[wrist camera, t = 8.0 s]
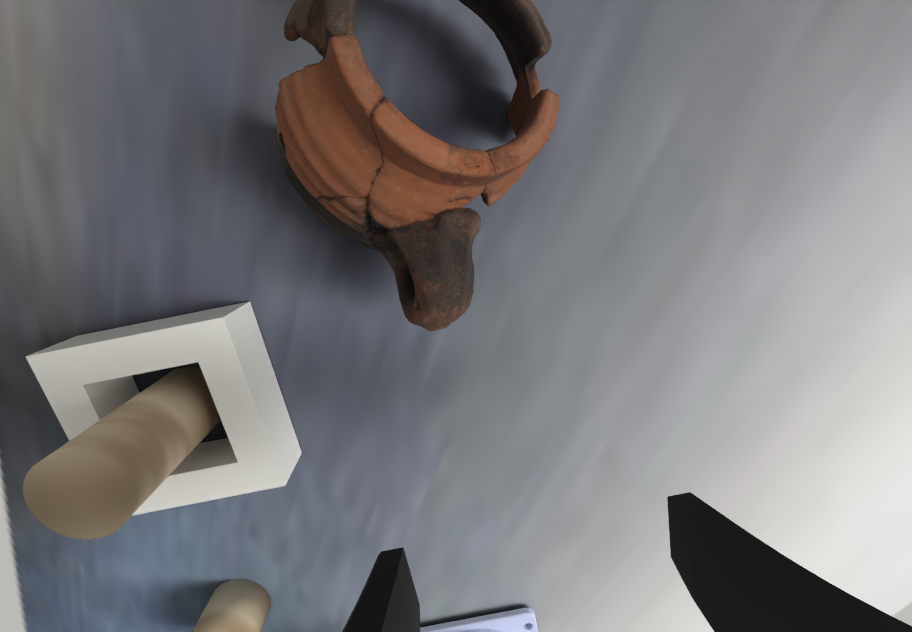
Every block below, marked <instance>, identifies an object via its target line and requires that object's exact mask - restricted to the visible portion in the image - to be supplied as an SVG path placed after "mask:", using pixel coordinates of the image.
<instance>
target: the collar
mask: <svg viewBox="0 0 912 632" xmlns="http://www.w3.org/2000/svg"><path fill="white" fill-rule="evenodd" d="M26 359H27V361H28V362H29V364H30V366H31V368H32V370H33V372H34V374H35V376H36V378H37V380H38V382H39V384H40V385H41V387H42V389H43V391H44V393H45V395H46V397H47V399H48V401H49V403H50V405H51V407H52V409H53V410H54V412H55V414H56V416H57V418H58V420H59V422H60V424H61V426H62V428H63V430H64V432H65V433H66V435H67V437H68V439H69V441H70V440H72V439H73V438H75V437H76V436H77V435H79V434H80V433H82V432H83V431H85V430H86V429H88V428H89V427H91V426H92V425H94V424H95V423H96V422H98V421H99V420H101V419H102V418H104V417H105V416H107V415H108V414H110V413H111V412H113V411H114V410H115V409H117V408H118V407H120V406H121V405H123V404H124V403H126V402H127V401H129V400H130V399H132V398H133V397H134V396H136V395H137V394H139V393H140V392H139V390H138V388H137V386H136V384H135V381H134V379H133V377H132V375H136V374H141V373H146V372H151V371H156V370H161V369H166V368H171V367H176V366H181V365H187V364H192V363H197V362H198V363H199V365H200V368H201V370H202V373H203V375H204V378H205V380H206V383H207V385H208V388H209V390H210V393H211V395H212V398H213V401H214V403H215V406H216V408H217V411H218V413H219V416H220V418H221V421H222V423H223V426H224V428H225V431H226V433H227V436H228V438H224V439H219V440H214V441H209V442H204V443H199V444H198V445H197V446H196V447H195V448H194V449H193V450H192V451H191V453H190V454H189V455H188V456H187V457H186V458H185V459H184V460H183V461H182V462H181V463H180V464H179V465H178V466H177V467H176V469H175V470H174V471H173V472H172V473H171V474H170V475H169V476H168V477H167V478H166V479H165V480H164V481H163V482H162V484H161V485H160V486H159V487H158V488H157V489H156V490H155V491H154V492H153V493H152V494H151V495H150V496H149V497H148V498H147V500H146V501H145V502H144V503H143V504H142V505H141V506H140V507H139V508H138V509H137V510H136V511H135V512H134V513H133V514H132V515H137V514H143V513H148V512H153V511H158V510H163V509H168V508H173V507H179V506H184V505H189V504H194V503H199V502H204V501H210V500H215V499H220V498H225V497H230V496H235V495H240V494H246V493H251V492H256V491H261V490H266V489H271V488H276V487H282V486H285V485H286V483H287V481H288V479H289V477H290V475H291V473H292V471H293V469H294V467H295V465H296V463H297V461H298V459H299V457H300V456H301V454H302V452H301V449H300V446H299V443H298V440H297V437H296V434H295V431H294V428H293V426H292V423H291V420H290V417H289V414H288V411H287V408H286V405H285V402H284V399H283V396H282V394H281V391H280V388H279V385H278V382H277V379H276V376H275V373H274V370H273V367H272V364H271V361H270V359H269V356H268V353H267V350H266V347H265V344H264V341H263V338H262V335H261V332H260V329H259V327H258V324H257V321H256V318H255V315H254V312H253V309H252V306H251V303H250V301H249V302H244V303H239V304H234V305H229V306H224V307H219V308H214V309H209V310H204V311H199V312H194V313H189V314H184V315H179V316H174V317H169V318H164V319H159V320H154V321H149V322H144V323H139V324H134V325H129V326H124V327H119V328H114V329H109V330H104V331H98V332H93V333H88V334H83V335H78V336H75V337H72V338H70V339H68V340H65V341H63V342H60V343H58V344H55V345H53V346H50V347H48V348H45V349H43V350H40V351H38V352H35V353H33V354H31V355H28V356H26Z"/></svg>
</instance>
